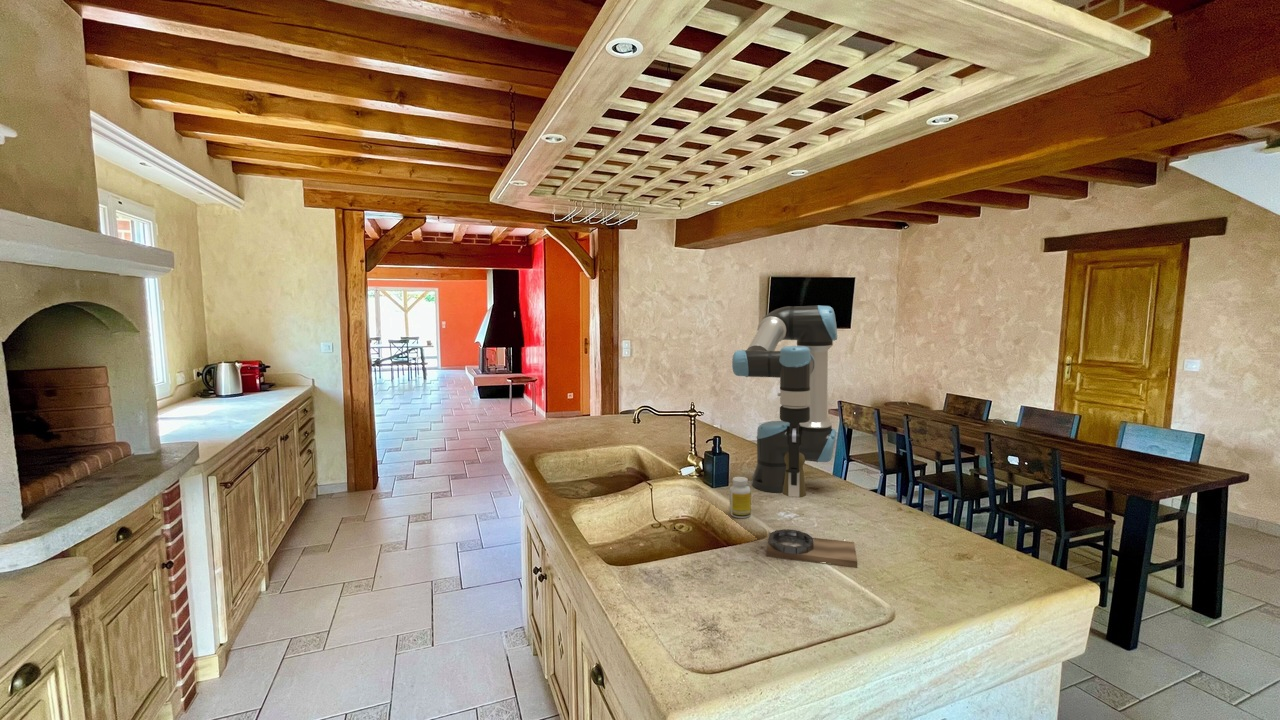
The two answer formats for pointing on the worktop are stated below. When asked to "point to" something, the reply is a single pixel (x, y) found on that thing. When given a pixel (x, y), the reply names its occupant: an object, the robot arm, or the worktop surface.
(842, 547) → the walnut board
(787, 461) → the cork
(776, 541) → the ring holder
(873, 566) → the worktop surface
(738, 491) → the pill bottle
